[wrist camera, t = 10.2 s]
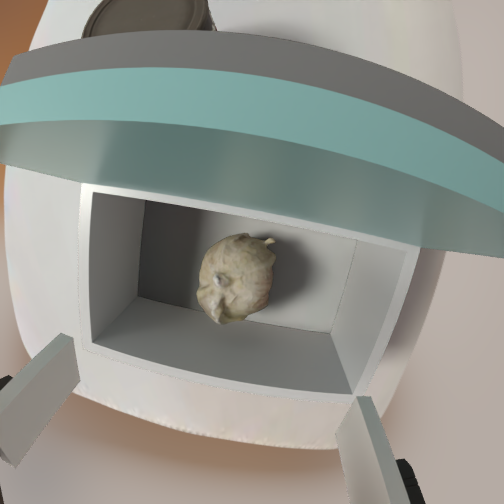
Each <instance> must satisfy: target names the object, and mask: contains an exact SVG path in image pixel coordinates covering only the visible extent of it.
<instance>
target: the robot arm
mask: <svg viewBox="0 0 504 504" xmlns="http://www.w3.org/2000/svg"><path fill="white" fill-rule="evenodd" d="M79 382H80V376H79V371H78V366H77V360H76V354H75V348H74V341H73V338H72V337H70V336H67V335H65V334H62V333H60V334H59V335H58V336H57V337H56V338H55V339H54V340H52V341H51V342H50V343H49V344H48V345H47V346H46V347H45V348H44V349H43V350H42V351H41V352H40V353H38V354H37V355H36V356H35V357H34V358H33V359H32V360H31V361H30V362H29V363H28V364H27V365H26V366H25V367H24V368H23V369H22V370H21V371H20V372H19V373H18V374H17V375H16V376H15V377H14V378H13V377H11V376H9V375H8V376H5V377H3V378H1V379H0V457H1V458H2V460H4V461H5V462H6V463H8V464H9V465H10V466H12V467H13V468H17V466H18V465H19V463H20V462H21V460H22V459H23V457H24V456H25V455H26V453H27V452H28V450H29V449H30V447H31V446H32V445H33V443H34V441H35V440H36V439H37V438H38V436H39V435H40V433H41V432H42V431H43V429H44V428H45V427H46V425H47V424H48V422H49V421H50V420H51V418H52V417H53V416H54V414H55V413H56V412H57V410H58V409H59V408H60V406H61V405H62V404H63V402H64V401H65V400H66V399H67V397H68V396H69V395H70V393H71V392H72V391H73V389H74V388H75V387H76V386H77V384H78V383H79ZM335 435H336V439H337V444H338V449H339V453H340V458H341V463H342V467H343V472H344V477H345V482H346V487H347V492H348V497H349V502H350V504H425V501H424V498H423V495H422V493H421V490H420V487H419V486H418V482H417V479H416V478H415V474H414V472H413V469H412V467H411V466H410V465H409V463H408V462H407V461H406V460H405V459H398V460H395V458H394V455H393V453H392V450H391V447H390V444H389V442H388V439H387V436H386V434H385V431H384V429H383V426H382V423H381V421H380V418H379V416H378V413H377V411H376V408H375V406H374V403H373V401H372V398H371V397H367V396H356V397H355V399H354V401H353V403H352V405H351V407H350V409H349V411H348V412H347V414H346V416H345V418H344V420H343V421H342V423H341V425H340V427H339V428H338V430H337V432H336V433H335ZM0 504H4V501H3V497H2V492H1V487H0Z"/></svg>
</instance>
